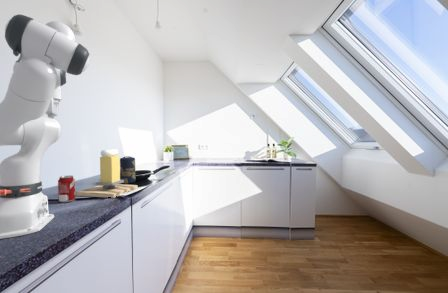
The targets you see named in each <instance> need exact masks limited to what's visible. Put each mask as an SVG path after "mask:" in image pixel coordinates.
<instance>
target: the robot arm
mask: <svg viewBox="0 0 448 293" xmlns="http://www.w3.org/2000/svg"><path fill="white" fill-rule="evenodd" d="M4 39H5V41H6V43H7V45H8V47H9V48H10V49H11V50H12V53H13V55H14V56H15V57H18V56H19V57H18V59H17V60H16V61H15V62H14V65H13V67H12V68H13V69H12V70H13V72H12V75H11V77H10V81H9V82H8V87H7V91H6V93H5V96H4V98H3V100H2V101H1V102H0V147H1V146H20V149H19V151H18V152H17V153H15V154H12V155H10V156H8V157H6V158H4V159H3V160H2V161H1V162H0V240H2V239H9V238H14V237H19V236H20V237H21V236H25V235H30V234H34V233H36V232H39V231H41V230H42V229H43V228H44V227H45V226H46V225H48V224H49V223H50V222H51V221H52V220H53V219H54V218H55V215H54V213H49V201H48V200H49V199H48V196H47V195H46V194H44V193H43V182H42V181H41V167H42V166H41V163H42V158H43V156H44V154H45V152H46V151H47V150H48V148H50V147H51V146H52V145H53V144H55V143H56V142H58V140H60V137H61V135H62V126H61V124H60V123H59V121H58V120H57V119H55V117H58V115H59V105H60V104H59V103H60V102H61V101H62V98H63V97H62V89H61V87H63V86H64V85H65V84H66V83H67V75H66V74H68V75H69V74H70V75H73V76H78V75H81V74H82V73H83V72H85V71H86V70H87V69H88V67H89V65H90V52H89V51H88V49H87V47H85V46H84V45H82V44H81V43H78V42H76V37H75V33H74V31H73V30H72V28H70V27H69V26H68V25H67V24H65V23H63V22H60V21H56V20H55V21H48V22H47V23H46V24H44V23H42V22H40V21H37V20H35V19H34V18H32V17H30V16H27V15H24V14H15V15H13V16H12V17H11V18H10V19H9V20H7V23H6V24H5V27H4ZM45 115H47V116H45Z"/></svg>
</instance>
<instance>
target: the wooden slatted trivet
mask: <svg viewBox="0 0 448 293" xmlns="http://www.w3.org/2000/svg"><path fill="white" fill-rule="evenodd" d="M138 187H139V186H138V185H137V184H124V183H120V184H116V185H113V186H109V185H96V186H93V187H90V188H85V189H82V190H79V191H75V196H76V197H92V198H93V197H94V198H108V197H111V198H112V199H115V198H117V197H119V196H118V195H120V194H122V195H124V194H123V193H125V192H127V193H129V192H128V191H130V192H132V191H135V190H137V188H138ZM134 189H135V190H134ZM131 190H132V191H131ZM125 194H126V193H125ZM116 196H117V197H116ZM120 196H121V195H120ZM111 198H110V199H111Z"/></svg>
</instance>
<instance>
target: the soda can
mask: <svg viewBox="0 0 448 293" xmlns="http://www.w3.org/2000/svg"><path fill="white" fill-rule="evenodd" d="M57 189H58V190H57V191H58V193H57V195H58V202H59V203H65V204H66V203H72V202H73V201H75V200H76V179H75V178H74V175H61V176H59V179H57Z"/></svg>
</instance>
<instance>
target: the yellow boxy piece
mask: <svg viewBox="0 0 448 293" xmlns="http://www.w3.org/2000/svg"><path fill="white" fill-rule="evenodd" d="M100 155H101V156H99V168H100V170H99V172H100V178H99V179H98V181H97V182H96V183H95V184H96V186H99V185H109V186H113V185H116V184H124V183H123V182H124V180H120V155H119V150H118V149H116V148H113V149H102V150H101V151H100Z"/></svg>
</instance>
